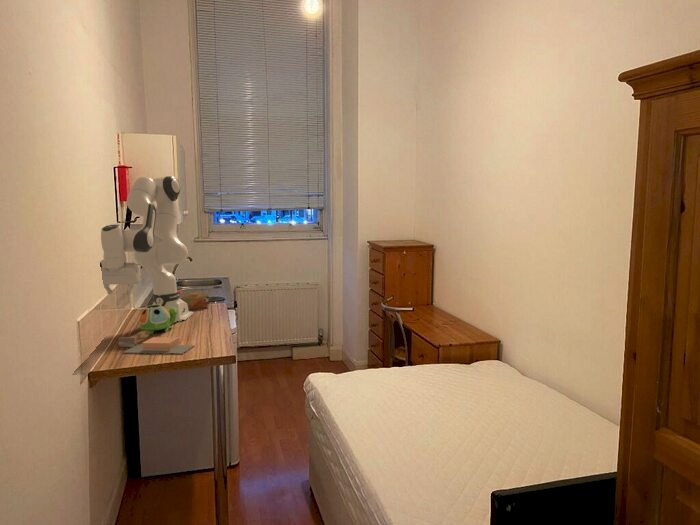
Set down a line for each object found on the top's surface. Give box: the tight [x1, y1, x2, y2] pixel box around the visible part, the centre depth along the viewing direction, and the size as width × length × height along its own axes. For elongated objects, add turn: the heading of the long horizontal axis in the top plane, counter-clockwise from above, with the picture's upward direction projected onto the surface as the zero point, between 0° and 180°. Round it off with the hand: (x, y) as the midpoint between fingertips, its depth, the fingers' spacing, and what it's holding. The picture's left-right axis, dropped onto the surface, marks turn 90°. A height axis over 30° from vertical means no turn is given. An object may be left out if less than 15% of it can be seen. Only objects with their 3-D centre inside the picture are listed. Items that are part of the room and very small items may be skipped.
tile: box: [141, 336, 181, 350], centre depth 216 cm, size 3×12×8 cm
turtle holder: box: [138, 304, 178, 335], centre depth 244 cm, size 12×18×12 cm
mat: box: [122, 344, 195, 355], centre depth 214 cm, size 10×26×1 cm, turn 79°
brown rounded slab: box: [181, 292, 211, 310], centre depth 286 cm, size 15×3×8 cm, turn 101°
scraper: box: [118, 330, 150, 348], centre depth 227 cm, size 15×7×4 cm, turn 169°
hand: (120, 293), depth 229 cm, fingers open, 8 cm apart
